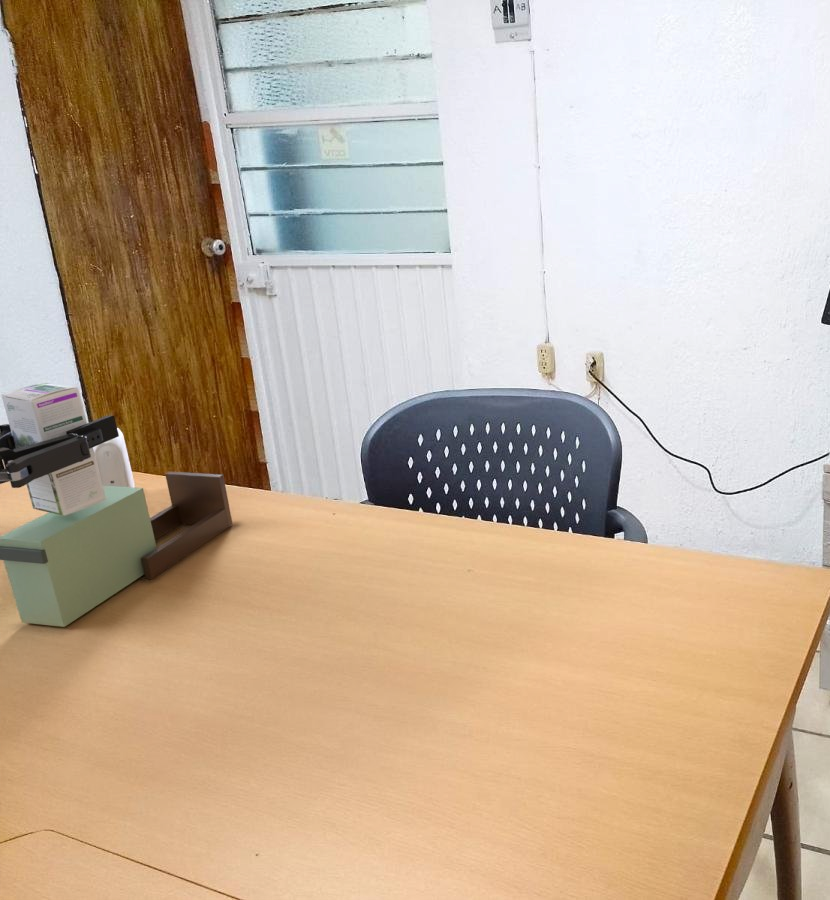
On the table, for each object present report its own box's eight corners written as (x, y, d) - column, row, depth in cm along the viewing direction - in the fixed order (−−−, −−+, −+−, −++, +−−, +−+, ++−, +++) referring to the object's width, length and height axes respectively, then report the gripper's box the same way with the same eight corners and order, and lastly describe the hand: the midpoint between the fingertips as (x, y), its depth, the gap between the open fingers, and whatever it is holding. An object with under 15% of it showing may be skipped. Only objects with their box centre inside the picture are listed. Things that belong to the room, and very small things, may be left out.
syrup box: (108, 499, 101) (81, 384, 96) (61, 518, 96) (30, 397, 91) (77, 492, 103) (49, 380, 99) (30, 510, 98) (-2, 393, 94)
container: (17, 624, 97) (-8, 539, 93) (121, 560, 112) (103, 485, 108) (62, 629, 96) (38, 543, 92) (161, 563, 111) (143, 487, 107)
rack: (93, 573, 109) (78, 518, 107) (180, 520, 125) (169, 471, 122) (152, 579, 107) (139, 523, 105) (232, 524, 123) (223, 474, 120)
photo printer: (137, 510, 129) (120, 435, 125) (105, 516, 127) (87, 439, 123) (137, 488, 138) (121, 417, 134) (108, 493, 136) (90, 422, 132)
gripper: (-161, 524, 84) (31, 449, 105) (-3, 537, 80) (163, 456, 101) (-186, 455, 81) (15, 392, 103) (-24, 465, 77) (150, 397, 99)
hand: (88, 424), depth 102 cm, fingers closed on syrup box, 6 cm apart
